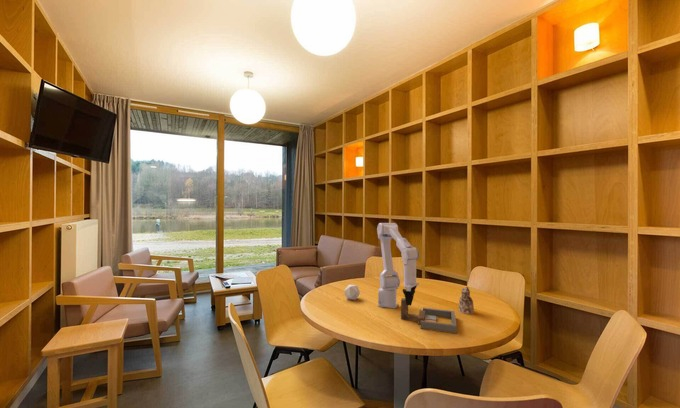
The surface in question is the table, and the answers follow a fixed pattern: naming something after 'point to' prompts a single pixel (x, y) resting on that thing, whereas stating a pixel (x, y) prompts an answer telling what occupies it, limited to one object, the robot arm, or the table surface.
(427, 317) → the tile slate
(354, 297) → the die
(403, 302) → the scraper
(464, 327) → the table surface
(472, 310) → the figurine
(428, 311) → the grey flat u-shaped piece
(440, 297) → the table surface
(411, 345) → the table surface
